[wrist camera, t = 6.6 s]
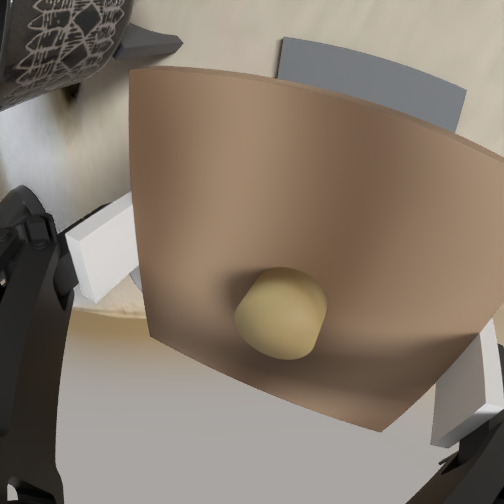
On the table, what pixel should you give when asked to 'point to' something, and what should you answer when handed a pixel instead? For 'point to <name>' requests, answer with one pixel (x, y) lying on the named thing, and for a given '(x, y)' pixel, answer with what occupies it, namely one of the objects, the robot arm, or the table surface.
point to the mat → (372, 80)
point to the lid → (311, 238)
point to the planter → (67, 43)
